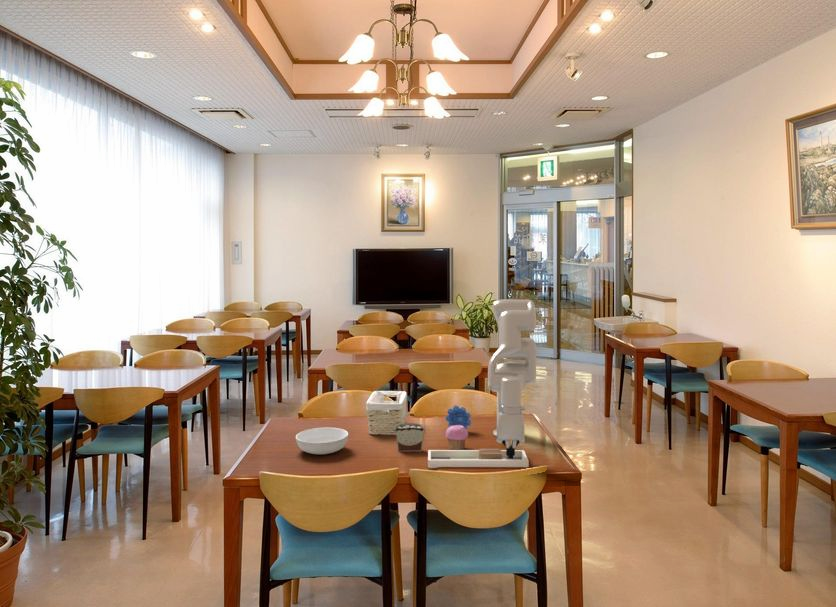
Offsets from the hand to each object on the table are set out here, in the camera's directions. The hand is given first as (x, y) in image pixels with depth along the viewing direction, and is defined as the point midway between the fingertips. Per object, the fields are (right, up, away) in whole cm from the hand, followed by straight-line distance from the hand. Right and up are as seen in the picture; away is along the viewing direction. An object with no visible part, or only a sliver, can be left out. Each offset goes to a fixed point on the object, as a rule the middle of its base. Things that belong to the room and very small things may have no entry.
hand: (510, 457), depth 242 cm
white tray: (-13, -2, 0) cm, 13 cm away
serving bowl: (-73, -1, +16) cm, 75 cm away
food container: (-38, -1, +18) cm, 42 cm away
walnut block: (-8, -2, 0) cm, 8 cm away
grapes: (-17, +1, +40) cm, 44 cm away
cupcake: (-19, -1, +17) cm, 25 cm away
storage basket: (-49, +1, +48) cm, 68 cm away
